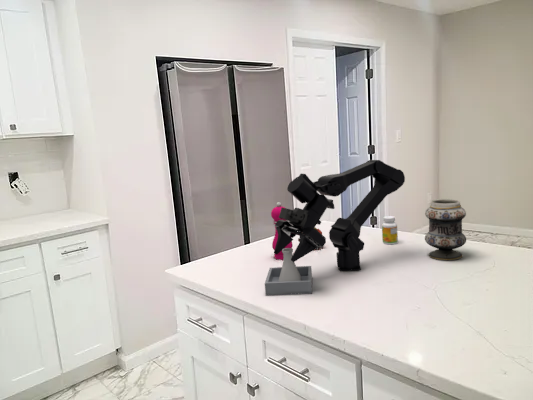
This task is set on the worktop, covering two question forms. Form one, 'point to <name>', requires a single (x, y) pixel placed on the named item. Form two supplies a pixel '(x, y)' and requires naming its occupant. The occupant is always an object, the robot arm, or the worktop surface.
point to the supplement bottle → (389, 230)
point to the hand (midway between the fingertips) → (283, 257)
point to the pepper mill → (275, 216)
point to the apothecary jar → (445, 228)
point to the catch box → (289, 282)
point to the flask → (289, 267)
